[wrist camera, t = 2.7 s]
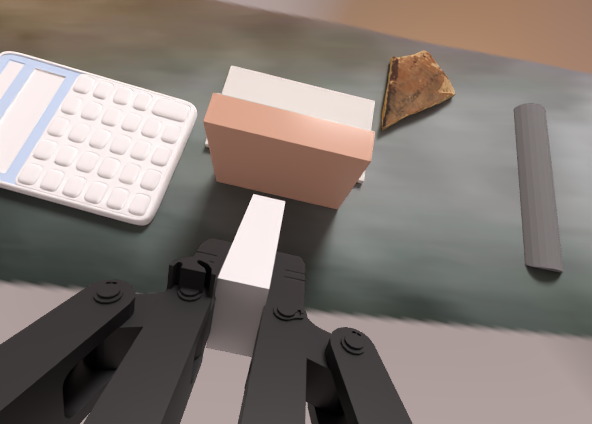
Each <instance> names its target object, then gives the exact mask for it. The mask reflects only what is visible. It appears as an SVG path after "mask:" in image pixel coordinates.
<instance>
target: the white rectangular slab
mask: <svg viewBox="0 0 592 424" xmlns="http://www.w3.org/2000/svg"><path fill="white" fill-rule="evenodd" d="M222 94H224V95H228V96H232V97H236V98H241V99H245V100H249V101H253V102H257V103H261V104H265V105H269V106H273V107H277V108H282V109H286V110H290V111H294V112H298V113H302V114H306V115H310V116H314V117H319V118H323V119H327V120H331V121H335V122H339V123H343V124H347V125H351V126H355V127H360V128H364V129H368V130H371V126H372V119H373V112H374V105H375V101H372V100H368V99H364V98H360V97H356V96H352V95H348V94H344V93H340V92H336V91H332V90H328V89H324V88H320V87H316V86H312V85H308V84H304V83H300V82H296V81H292V80H288V79H284V78H280V77H276V76H272V75H268V74H264V73H260V72H256V71H252V70H248V69H244V68H240V67H236V66H232V65H231V68H230V71H229V74H228V77H227V80H226V83H225V86H224V89H223V92H222ZM205 145H206V147H209V145H208V140H207V139H206V142H205ZM364 176H365V171H364V172H363V174H362V175H361V177H360V178H359V180H358V181H357V182H358V183H363V182H364Z"/></svg>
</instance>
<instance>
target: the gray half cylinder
mask: <svg viewBox="0 0 592 424" xmlns="http://www.w3.org/2000/svg"><path fill="white" fill-rule="evenodd" d="M514 120H515V133H516V147H517V160H518V174H519V188H520V201H521V215H522V229H523V242H524V256H525V264H526V265H527V266H531V267H535V268H540V269H545V270H551V271H556V272H563V263H562V254H561V245H560V236H559V227H558V218H557V209H556V201H555V192H554V183H553V174H552V165H551V156H550V147H549V138H548V129H547V120H546V111H545V108H544V107H543V106H541V105H539V104H534V103H528V104H522V105H519V106H518V107H516V108H514Z"/></svg>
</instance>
